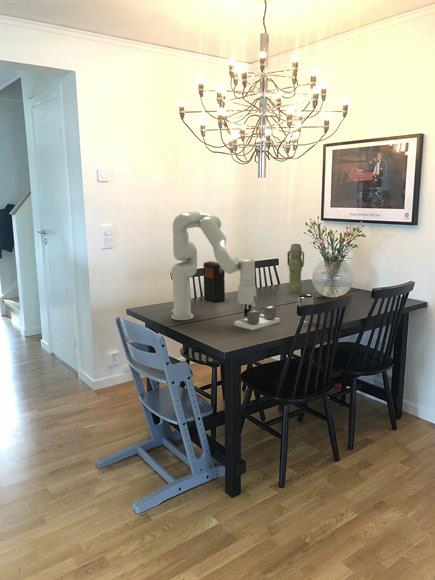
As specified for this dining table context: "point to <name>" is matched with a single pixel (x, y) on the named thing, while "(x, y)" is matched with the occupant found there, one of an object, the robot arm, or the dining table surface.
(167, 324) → the dining table surface
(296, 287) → the olive green tall statue
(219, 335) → the dining table surface
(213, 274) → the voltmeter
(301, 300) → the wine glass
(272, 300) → the dining table surface
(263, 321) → the white rectangular tray
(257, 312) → the grey rounded block
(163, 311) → the dining table surface
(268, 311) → the handle
